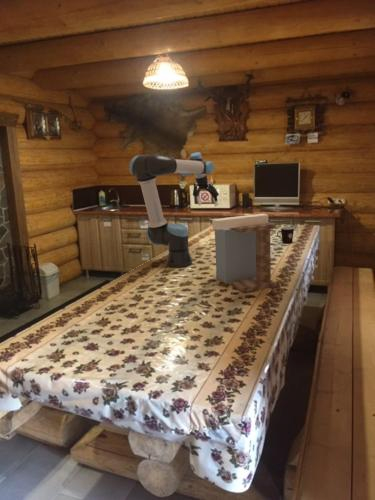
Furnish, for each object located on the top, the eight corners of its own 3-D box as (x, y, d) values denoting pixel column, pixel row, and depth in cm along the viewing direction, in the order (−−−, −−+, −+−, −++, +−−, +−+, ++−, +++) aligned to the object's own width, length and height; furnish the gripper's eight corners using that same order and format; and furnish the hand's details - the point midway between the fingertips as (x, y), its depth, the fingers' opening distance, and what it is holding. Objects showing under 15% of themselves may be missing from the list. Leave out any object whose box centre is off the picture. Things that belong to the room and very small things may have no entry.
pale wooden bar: (217, 229, 187) (216, 220, 186) (212, 228, 191) (212, 219, 190) (268, 223, 195) (268, 214, 194) (262, 221, 200) (262, 213, 199)
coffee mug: (292, 241, 291) (292, 226, 288) (294, 243, 282) (294, 229, 280) (275, 241, 292) (275, 227, 290) (277, 244, 284) (277, 229, 281)
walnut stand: (242, 292, 194) (240, 228, 187) (230, 285, 205) (229, 224, 198) (276, 286, 199) (276, 224, 192) (263, 279, 210) (262, 220, 203)
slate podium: (226, 283, 207) (224, 230, 201) (216, 277, 218) (214, 226, 212) (256, 278, 212) (256, 226, 206) (245, 272, 224) (244, 222, 217)
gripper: (219, 173, 271) (226, 203, 281) (189, 173, 286) (196, 202, 296) (213, 178, 266) (220, 208, 276) (182, 178, 282) (190, 206, 291)
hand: (208, 205), depth 286 cm, fingers open, 13 cm apart
